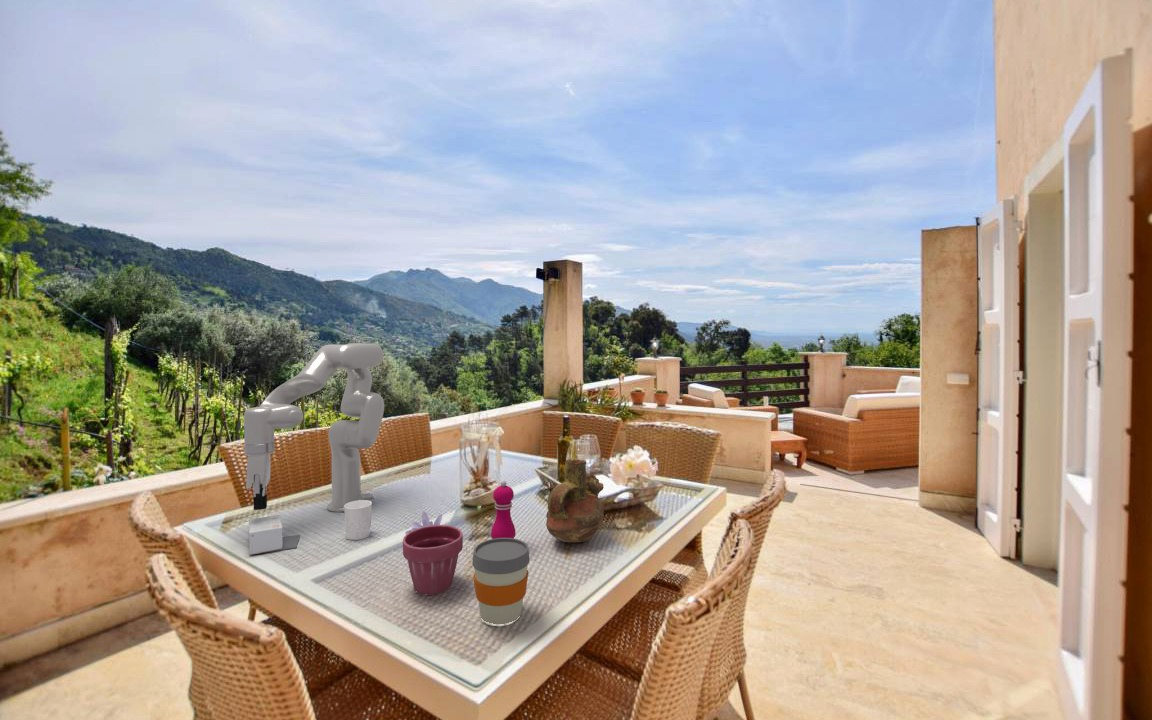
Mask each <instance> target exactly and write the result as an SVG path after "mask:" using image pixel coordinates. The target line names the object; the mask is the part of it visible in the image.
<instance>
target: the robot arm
mask: <svg viewBox="0 0 1152 720" xmlns="http://www.w3.org/2000/svg"><path fill="white" fill-rule="evenodd" d="M383 360H384V351H383V349H382V348H381V346H380V345H378V344H376V343H361V342H360V343H359V342H355V343H354V342H353V343H351V342H350V343H346V344H324V345H323V346H321V347H320V348H319V349H318V350H317V352H315V354H314V355H313V356H312V357H311V359H310V360H309V361H308V362H307V363H306V365H305V366H304V367H303V368H302V369H301V370H300V372H298V374H296V375H295V376H293V377H291V378H290V379H287V380H286V381H285V382H284V383H282V384H280V385H279V386H277V387H276V388H275V389H273V390H271V392H270V393H269V394H268V395H267V396H266V398H265V399H263V401H262V403H261V404H260V405H259V406H257V407H255V406H254V407H249V408H247V409H245V410H244V413H243V427H244V428H243V429H244V431H243V432H244V433H243V434H244V436H243V437H244V438H243V439H244V456H247V461H246V482H245V483H246V486H245V487H246V489H247V490H250V489H251V488H253V491H252V492H253V497H252V499H253V502H252V503H253V511H259V510H260V511H261V510H266V509H267V507H268V494H267V485H268V484H269V482H270V480H271V469H272V468H271V466H272V465H271V454H274V453H275V430H280V429H281V430H282V429H283V430H284V429H286V430H287V429H293V428H296V427H297V426H299V425H300V424H301V423H302V421H303V419H304V412H303V411H302V409H301V408H300V407H299V406H296V405H294V404H291V403H294V402H295V401H296V400H298V399H301V398H302V397H305V396H309V395H311V394H314V393H316V392H319V391H321V390H322V389H323V388H324V386H325V385H327V383H328V382H329V380H330V379H331V378H332V377H333V374H335V372H336V371H337V370H339V369H341V370H346V372H347V373H346V374H347V381H346V385H345V389H344V391H343V395H342V399H341V404H340V412H341V413H342V414H343V415H344V416H346V417H350V418H351V417H352V418H358V419H359V420H352V419H351V420H349V419H340V420H338V421H335V422H334V423H333V424H331V426H330V427H329V429H328V433H327V434H328V435H327V436H328V443H329V445H330V453H331V502H329V503H328V504H326V508H327V509H326V510H328V511H330V512H333V513H334V512H335V513H341V512H344V505H345V504H347V503H349V502H353V501H359V500H367V501H371V500H374V499H375V494H374V493H370V492H369V493H363V492H362V490H361V489H362V488H361V485H362V483H361V481H362V479H361V454H360V450H359V449H364V450H365V449H369V448H371V447H372V446H374V444H375V443H376V441H377V440H378V435H379V432H380V429H381V423H382V421H383V420H382V419H383V417H384V411H385V401H384V399H383V397H382V396H381V395H380V394H379V393H376V392H372V391H371V389H372V384H373V377H372V373H371V371H370V369H369V368H375V367H377V366H378V365H379V364H382V361H383ZM344 513H345V512H344Z"/></svg>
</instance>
